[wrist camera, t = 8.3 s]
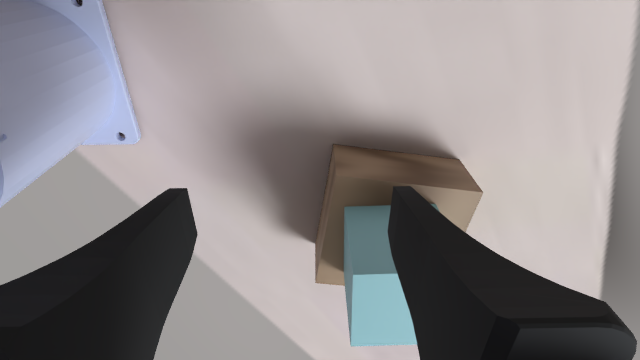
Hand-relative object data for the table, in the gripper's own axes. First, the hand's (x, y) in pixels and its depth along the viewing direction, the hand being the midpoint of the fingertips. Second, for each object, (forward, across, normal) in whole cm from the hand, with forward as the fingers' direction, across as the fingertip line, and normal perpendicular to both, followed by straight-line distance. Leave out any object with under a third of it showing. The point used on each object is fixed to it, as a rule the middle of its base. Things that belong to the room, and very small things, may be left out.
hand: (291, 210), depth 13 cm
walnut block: (+10, -5, +6) cm, 13 cm away
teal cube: (+6, -5, +6) cm, 10 cm away
